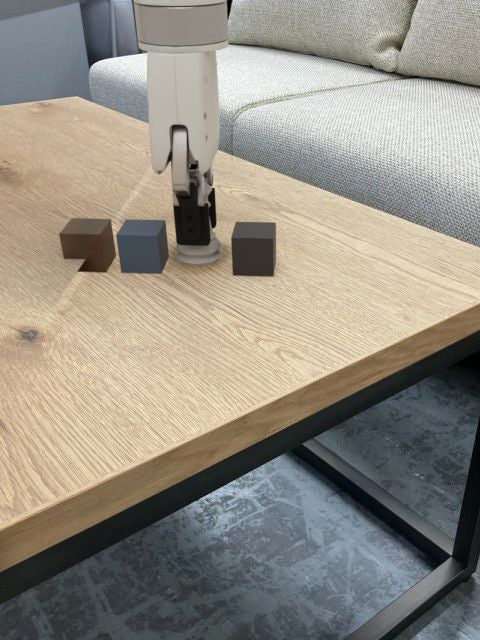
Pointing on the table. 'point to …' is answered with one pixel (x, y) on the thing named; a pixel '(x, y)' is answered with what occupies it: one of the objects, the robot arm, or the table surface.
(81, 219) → the block
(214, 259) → the rook chess piece
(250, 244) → the block
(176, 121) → the robot arm
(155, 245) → the block
